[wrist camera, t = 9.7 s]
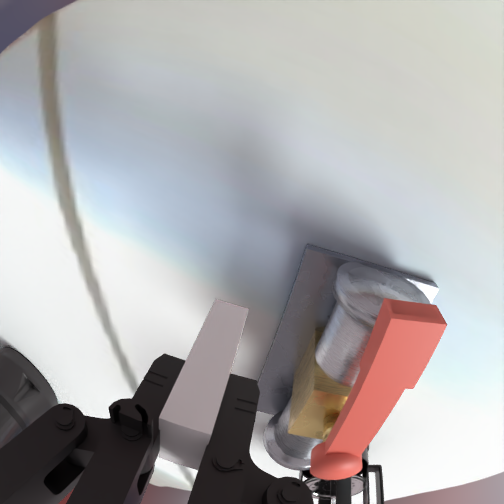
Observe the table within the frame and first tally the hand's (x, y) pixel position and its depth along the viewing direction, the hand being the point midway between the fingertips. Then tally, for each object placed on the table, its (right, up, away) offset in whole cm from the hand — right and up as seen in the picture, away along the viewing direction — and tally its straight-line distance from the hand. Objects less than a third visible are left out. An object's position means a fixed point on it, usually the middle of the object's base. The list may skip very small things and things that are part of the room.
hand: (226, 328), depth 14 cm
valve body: (+9, -6, +14) cm, 18 cm away
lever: (+8, -6, +2) cm, 10 cm away
